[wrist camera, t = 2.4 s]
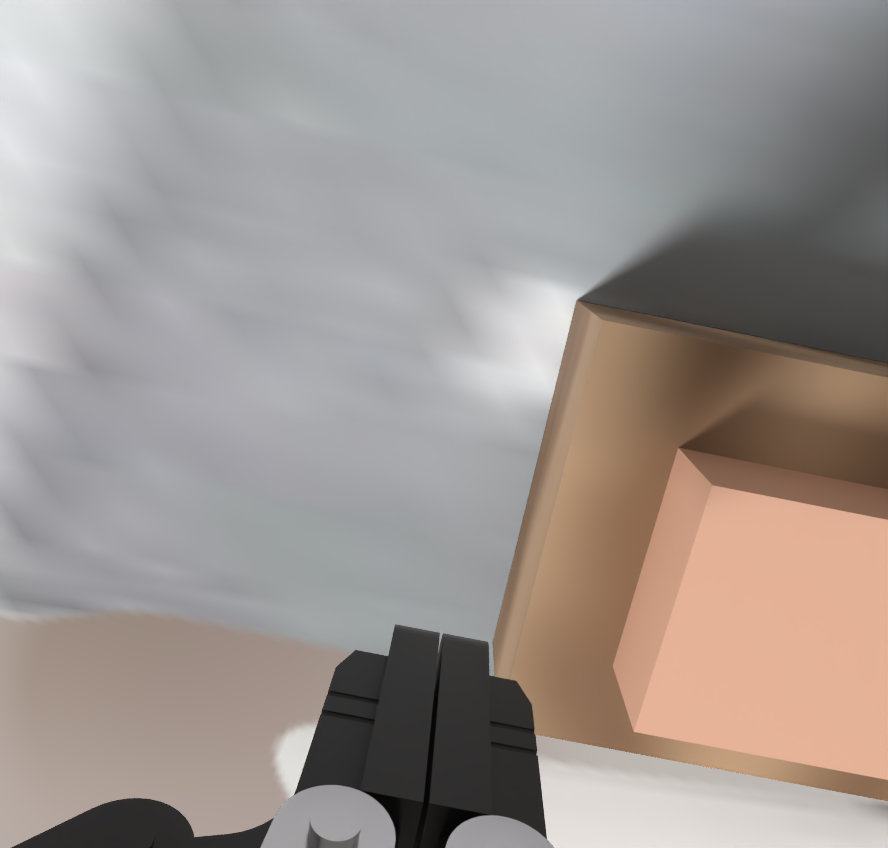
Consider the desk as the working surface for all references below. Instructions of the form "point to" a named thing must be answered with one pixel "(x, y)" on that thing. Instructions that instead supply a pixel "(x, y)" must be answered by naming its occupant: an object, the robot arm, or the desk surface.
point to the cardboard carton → (641, 493)
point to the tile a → (763, 616)
